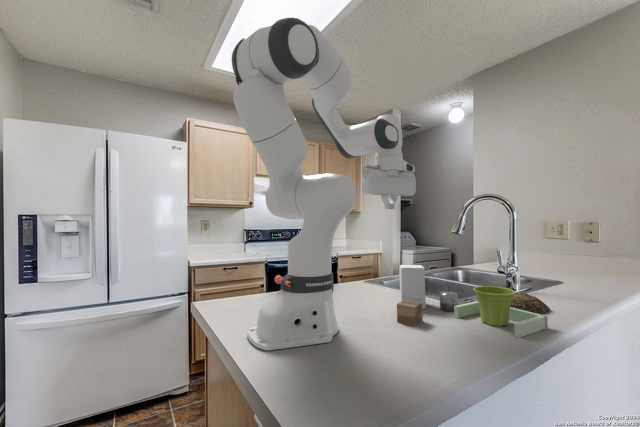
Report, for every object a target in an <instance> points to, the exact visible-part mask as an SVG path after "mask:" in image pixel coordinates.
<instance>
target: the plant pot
mask: <svg viewBox="0 0 640 427" xmlns="http://www.w3.org/2000/svg"><path fill="white" fill-rule="evenodd" d="M473 291H474V292H475V295H476V298H477V301H478V304H479V309H480V313H479V314H480V320H481V322H482V323H485V324H486V325H489V326H491V327H492V326H493V327H494V326H495V327H502V326H505V327H506V326H508V325H509V320H510V319H509V314H510V307H511V300H512V299H513V295H514V294H516V291H515V290H513V289H510V288H506V287H503V286H502V287H501V286H490V285H488V286H486V285H485V286H484V285H481V286H476V287H475V286H474V287H473Z"/></svg>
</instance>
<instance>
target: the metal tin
mask: <svg viewBox="0 0 640 427" xmlns="http://www.w3.org/2000/svg"><path fill="white" fill-rule="evenodd" d="M458 298H459V297H458V293H457V292H453V291H444V290H443V291H440V292H439V309H440V311H442V312H446V313H454V306H457V305H459V302H458V300H459V299H458Z"/></svg>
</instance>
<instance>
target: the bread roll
mask: <svg viewBox="0 0 640 427" xmlns="http://www.w3.org/2000/svg"><path fill="white" fill-rule="evenodd" d="M511 308H515V309H520V310H524V311H528V312H532V313H536V314H541V315H544V314H545V313H546V312H550V311H551V308H550V306H548V305H547V304H546V303H545V302H543V301H542V300H541V299H539V298H538V297H536V296H534V295H530V294H528V293H526V292H515V294H514V295H513V299H512V300H511ZM549 310H550V311H549Z"/></svg>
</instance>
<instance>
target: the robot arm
mask: <svg viewBox="0 0 640 427" xmlns="http://www.w3.org/2000/svg"><path fill="white" fill-rule="evenodd" d="M231 67H232V70H233V74H234V76H235V82H236V84H237V87H236V88H235V90H234V93H233V96H232V97H233V99H232V100H233V104H234V108H235V110H236V112H237V115H238V117H239V119H240V122H241V125H242V126H243V129H244V130H245V132H246V134H247V137H248V138H249V140H250V142H251V143H252V146H253V147H254V149H255V150H256V152H257V154H258V156H259V157H260V160H261V161H262V163H263V165H264V167H265V169H266V172H267V175H268V180H269V184H268V185H269V186H268V187H267V189H266V193H265V205H266V207H267V210H268V211H269V213H270V214H271V215H273V216H275V217H278V218H283V219H287V220H303V223H302V226H301V229H300V231H299V232H298V233H297V234H296V235H295V236H293V237H292V238H291V239H290V241H289V242H288V245H287V274H286V275H284V276H281V275H280V274H277V275H276V276H275V277H274V282H275V284H277V285H280V290H279V291H278V292H277V293H276V294H274V295H273V296H272V297H271V298H269V300H268V301H267V302H265V303H264V304H263V305H262V306H261V307H260V308H259V310H258V315H257V321H256V325H253V326H251V327H249V329H248V330H247V339H248V340H249V342H250V343H251V344H252V345H253V346H254V347H256V348H258V349H260V350H262V351H273V350H274V351H275V350H280V349H281V350H282V349H290V348H296V347H298V348H299V347H303V346H311V345H318V344H325V343H330V342H332V341H333V338H334V336H335V335H336V334H338V333H339V330H340V327H339V323H338V320H337V317H336V312H335V307H334V306H335V305H334V299H333V298H334V297H333V293H334V273H333V272H332V251H333V250H332V249H333V241H334V238H335V234H336V232H337V229H338V227H339V226H340V224H341V222H342V221H344V218H345V217H347V216H348V215H349V214H350V213H352V211H353V209H354V207H355V205H356V203H357V194H358V193H357V189H356V185H355V183H354V182H353V180H351V178H350V177H349V176H347V175H345V174H341V173H340V174H339V173H330V172H329V173H328V172H327V173H320V174H313V175H307V174H305V173H304V172H303V169H302V165H303V164H304V163H305V161H306V160H307V158H308V154H309V144H308V142H307V140H306V138H305V136H304V134H303V131H302V130H301V127H300V126H299V123H298V121H297V119H296V117H295V114H294V113H293V111H292V108H291V107H290V106H289V103H288V101H287V99H286V95H285V84H286V83H289V82H292V81H293V80H296V79H297V80H298V79H299V80H300V81H301V82H302V84H303V85H304V86H305V87H306V88H307V90H308V91H309V92H310V94H311V95H312V97H311V104H312V106H311V107H312V109H313V111H314V113H315V114H316V116H317V118H318V119H319V121H320V122H321V123H322V125H323V127H324V128H325V130H326V131H327V133H328V134H329V136H330V137H331V138H332V140H333V142H334V144H335V147H336V149H337V151H338V152H339V154H340V155H342V157H344V158H345V159H348V160H351V159H354V158H358V157H360V156H364V155H365V156H366V155H370V154H371V155H372V154H374V153H375V155H374V156H375V157H374V164H372V165H371V164H366V166H364V167H363V168H362V180H361V192H362V194H363V195H372V196H381V200H382V202H383V204H384V209H385V210H395V209H396V203H397V201H398V199H399V197H401V196H402V197H411V196H414V195H415V194H416V191H417V180H416V176H415V171H416V167H415V165H413V164H411V163H410V162H407V161H406V160H404V158H403V156H404V155H403V152H402V146H403V132H402V124H401V121H400V118H399V117H398V116H397V115H394V114H389V113H388V114H387V113H386V114H382V115H379V116H378V117H377V118H376V119H371V120H368V121H365V122H362V123H358V124H354V125H348V124H346V123H345V121H343V120H344V119H343V118H342V117H341V115H340V113H339V112H338V110H337V108H338V107H339V106H340V105H341V104H342V103H343V102H344V101H345V99H346V98H347V96H348V95H349V93H350V91H351V88H352V85H353V74H352V71H351V68H350V67H349V65H348V63H347V62H346V60H345V59H344V57H343V56H342V54H341V53H340V52H339V51H338V49H337V48H336V46H335V45H334V44H333V42H331V41H330V39H329V38H328V37H327V36H326V35H325V34H324V33H322V31H321V30H320V29H318V28H317V27H316V26H314V25H313V24H312V25H311V24H307V23H306V22H305V21H303V20H302V19H300V18H297V17H284V18H280V19H278V20H277V21H275V22H273V23H270V24H268V25H265V26H262V27H259V28H257V29H256V30H254V31H253V32H250V34H248V35H247V36H246V37H244V38H241V39H240V40H239V41H238V42H237V44H236V45H235V47H234V49H233V50H232V53H231ZM389 199H390V201H389Z"/></svg>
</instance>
